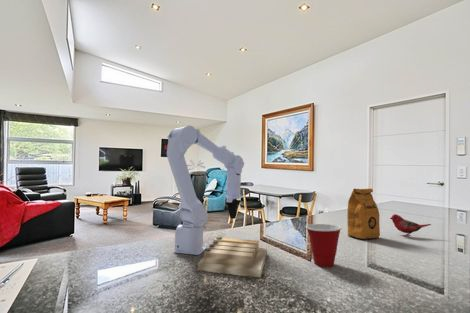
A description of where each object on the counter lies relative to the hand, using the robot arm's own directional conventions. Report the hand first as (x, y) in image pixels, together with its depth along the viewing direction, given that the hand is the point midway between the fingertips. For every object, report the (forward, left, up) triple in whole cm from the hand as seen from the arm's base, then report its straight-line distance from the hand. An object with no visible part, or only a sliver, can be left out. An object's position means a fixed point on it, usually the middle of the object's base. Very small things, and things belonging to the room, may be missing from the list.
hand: (232, 218), depth 101 cm
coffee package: (+55, +24, -10) cm, 61 cm away
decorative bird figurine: (+77, +32, -10) cm, 84 cm away
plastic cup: (+33, -15, -10) cm, 37 cm away
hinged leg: (+5, -16, -7) cm, 18 cm away
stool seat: (+6, -21, -9) cm, 24 cm away
